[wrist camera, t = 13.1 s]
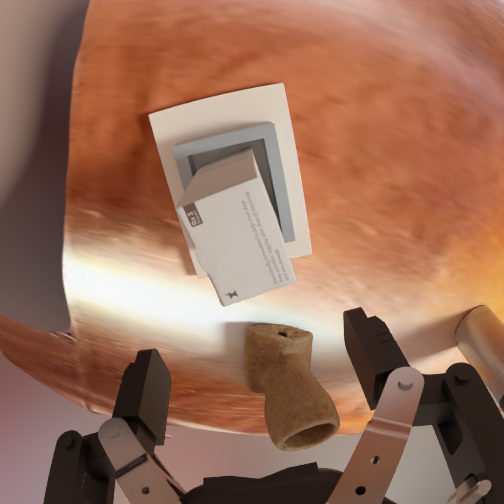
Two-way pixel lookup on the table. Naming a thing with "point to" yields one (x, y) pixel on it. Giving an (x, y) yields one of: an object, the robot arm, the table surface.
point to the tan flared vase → (288, 386)
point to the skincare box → (235, 228)
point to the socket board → (233, 139)
